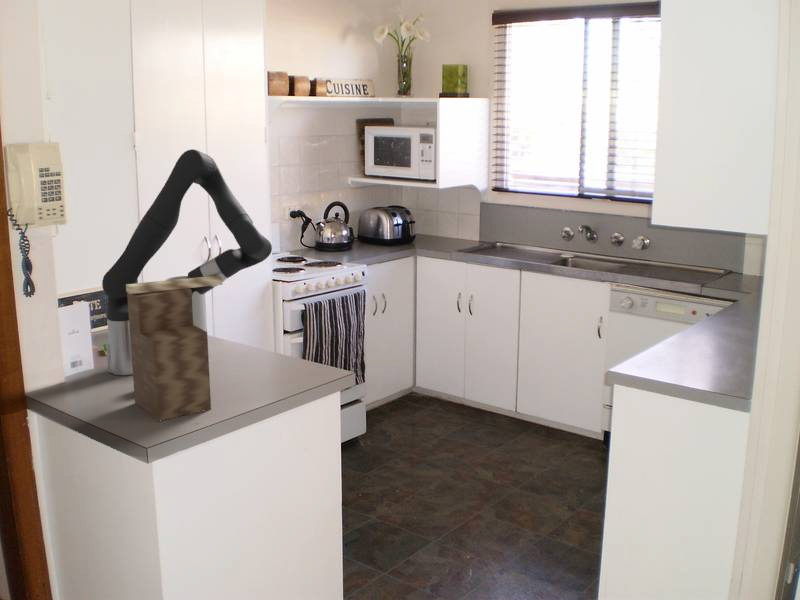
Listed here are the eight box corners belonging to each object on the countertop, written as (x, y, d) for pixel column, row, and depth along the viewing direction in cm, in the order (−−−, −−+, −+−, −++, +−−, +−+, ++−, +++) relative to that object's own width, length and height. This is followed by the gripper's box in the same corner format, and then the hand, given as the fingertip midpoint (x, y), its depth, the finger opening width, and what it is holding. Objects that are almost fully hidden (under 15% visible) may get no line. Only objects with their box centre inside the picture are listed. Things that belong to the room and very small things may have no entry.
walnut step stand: (185, 392, 247) (179, 284, 240) (211, 409, 234) (205, 295, 226) (135, 403, 238) (126, 291, 231) (158, 421, 225) (150, 303, 218)
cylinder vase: (169, 360, 277) (164, 284, 271) (169, 349, 289) (165, 276, 283) (208, 357, 280) (204, 283, 274) (207, 346, 292) (204, 275, 286)
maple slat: (217, 282, 244) (217, 275, 243) (222, 284, 241) (222, 277, 240) (126, 291, 229) (125, 284, 229) (130, 294, 226) (129, 286, 226)
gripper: (202, 257, 252) (156, 285, 253) (199, 273, 239) (150, 303, 240) (217, 277, 255) (171, 305, 256) (214, 294, 242) (166, 324, 243)
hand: (161, 304), depth 248 cm, fingers open, 7 cm apart
